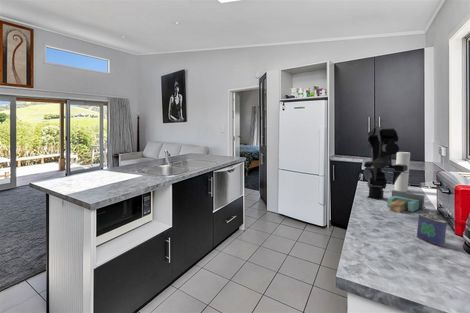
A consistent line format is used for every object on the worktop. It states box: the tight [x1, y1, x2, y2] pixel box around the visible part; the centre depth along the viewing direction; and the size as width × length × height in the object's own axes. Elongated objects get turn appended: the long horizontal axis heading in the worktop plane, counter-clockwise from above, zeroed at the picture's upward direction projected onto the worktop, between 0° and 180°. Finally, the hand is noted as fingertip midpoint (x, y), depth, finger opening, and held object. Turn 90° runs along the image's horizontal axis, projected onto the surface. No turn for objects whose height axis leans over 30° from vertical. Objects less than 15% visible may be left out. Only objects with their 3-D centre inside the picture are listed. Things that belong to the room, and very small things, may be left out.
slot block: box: [386, 195, 420, 213], centre depth 124 cm, size 11×8×4 cm
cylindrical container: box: [393, 151, 411, 193], centre depth 156 cm, size 7×7×25 cm
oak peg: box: [389, 199, 407, 214], centre depth 121 cm, size 4×10×4 cm, turn 130°
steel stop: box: [391, 189, 426, 211], centre depth 127 cm, size 14×4×7 cm, turn 35°
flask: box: [416, 212, 448, 248], centre depth 87 cm, size 9×3×11 cm, turn 15°
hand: (383, 182), depth 127 cm, fingers open, 9 cm apart
